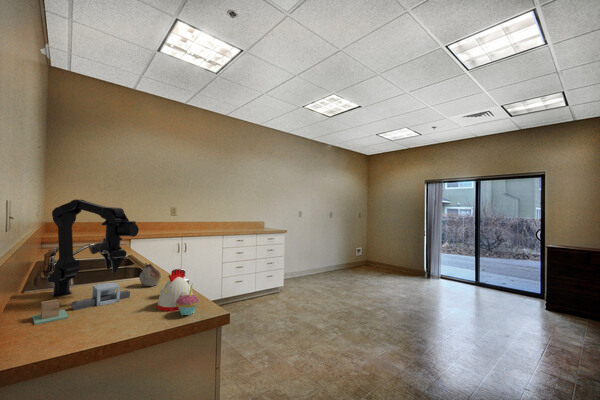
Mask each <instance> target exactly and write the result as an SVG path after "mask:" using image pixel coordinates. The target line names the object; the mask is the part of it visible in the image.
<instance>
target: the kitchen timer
mask: <svg viewBox="0 0 600 400" xmlns="http://www.w3.org/2000/svg"><path fill="white" fill-rule="evenodd" d="M177 269H178V271H177V270H175V269H174V270H175V273H174V272H173V271H172V270H171V271H172V272H170V273H171V274H168V279H169V280H167V281H168V282H167V281H166V283H165V285H164V286H163V287H161V288H160V290H159V291H160V294H159V296H158V300H157V306H156V307H157V309H158V310H159V309H160V310H159V311H162V310H163V312H176V311H175V310H179V308H178V307H177V306H176V305H175V303H176V300H177V299H178V298H179V297H181V296H183V295H189V294H190V288H191V285H190V283H189V284H188V282H187V281H186V280H185V279H186V278H184V276H185V277H186V272H185V273H183V271H181V272H180V269H181V268H177ZM182 273H183V275H182ZM183 278H184V279H183ZM191 295H194V293H193V291H192V292H191ZM179 311H180V310H179Z"/></svg>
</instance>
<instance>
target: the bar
mask: <svg viewBox="0 0 600 400" xmlns="http://www.w3.org/2000/svg"><path fill="white" fill-rule="evenodd" d="M116 294H117V291H115V293H111V294H107V295H102V296H100V302H102V301H107V300H112V299H116ZM129 298H131V291H130V290H120V300H124V299H129ZM96 302H97V297H93V298H92V297H90V298H85V299H80V300H75V301H74V300H73V301H72V302H71V310H72V311H78V310H82V309H87V308H90V307H94V306H95V307H96Z"/></svg>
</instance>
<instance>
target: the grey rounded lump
mask: <svg viewBox="0 0 600 400" xmlns="http://www.w3.org/2000/svg"><path fill="white" fill-rule="evenodd" d="M144 265H145V266H143V270H142V271H141V272H140V274H139V276H138V277H139V281H140V283H141V285H142V286H144V287H154V285H155V286H156V285H158V284H159V283H160V281H161V279H162V275H161V271H160V270H159V269H158V268H157V267H155V266H154V265H153V264H151V263H148V264H147V262H145V263H144Z"/></svg>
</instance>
